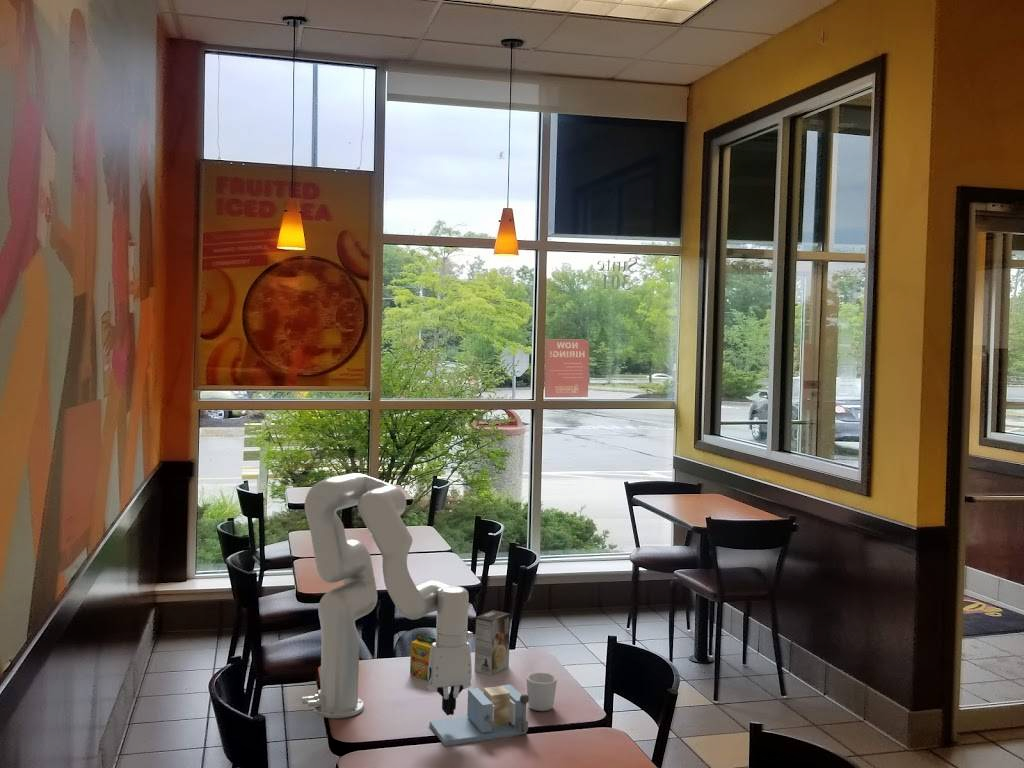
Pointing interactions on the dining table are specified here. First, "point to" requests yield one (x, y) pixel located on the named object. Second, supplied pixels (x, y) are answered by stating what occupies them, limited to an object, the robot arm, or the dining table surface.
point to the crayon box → (420, 656)
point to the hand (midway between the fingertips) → (448, 712)
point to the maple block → (499, 704)
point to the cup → (541, 691)
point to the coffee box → (492, 642)
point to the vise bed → (467, 731)
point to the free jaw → (480, 710)
